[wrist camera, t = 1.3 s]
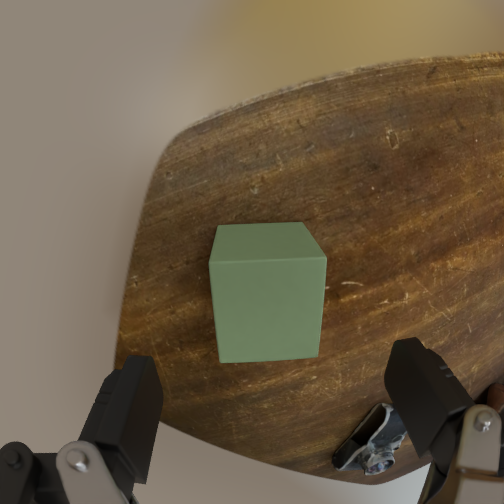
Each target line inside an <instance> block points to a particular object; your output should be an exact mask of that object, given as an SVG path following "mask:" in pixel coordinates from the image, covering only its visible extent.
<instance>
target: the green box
mask: <svg viewBox="0 0 504 504" xmlns="http://www.w3.org/2000/svg"><path fill="white" fill-rule="evenodd" d="M208 264H209V275H210V285H211V295H212V304H213V313H214V322H215V330H216V339H217V347H218V355H219V361H220V363H240V362H262V361H278V360H291V359H303V358H314V357H317V356H318V350H319V341H320V333H321V323H322V313H323V303H324V292H325V279H326V266H327V257H326V255H325V254H324V253H323V251H322V250H321V248H320V247H319V245H318V244H317V242H316V241H315V239H314V238H313V237H312V235H311V234H310V232H309V231H308V229H307V228H306V227H305V225H304V224H303V222H286V223H258V224H234V225H218V227H217V231H216V235H215V239H214V243H213V247H212V251H211V255H210V259H209V263H208Z"/></svg>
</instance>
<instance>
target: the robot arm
mask: <svg viewBox="0 0 504 504" xmlns="http://www.w3.org/2000/svg"><path fill="white" fill-rule="evenodd" d="M384 383H385V387H386V390H387V392H388V394H389V396H390V398H391V400H392V402H393V404H394V406H395V408H396V410H397V412H398V414H399V416H400V418H401V420H402V422H403V424H404V426H405V428H406V430H407V433H408V435H409V437H410V439H411V441H412V443H413V445H414V447H415V450H416V452H417V454H418V456H419V458H423V457H425V456H428V455H431V454H432V457H433V461H432V462H431V465H430V468H429V472H428V474H427V477H426V481H425V484H424V487H423V489H422V492H421V495H420V498H419V501H418V503H417V504H504V413H501V414H498V413H497V412H496V410H494V409H493V408H491V407H490V406H487V405H482V404H480V405H476V404H475V403H474V401H473V400H472V398H471V397H470V396H469V394H468V393H467V391H466V390H465V389H464V387H463V386H462V385H461V383H460V382H459V380H458V379H457V378H456V376H454V375H453V372H452V371H451V370H450V368H448V366H447V364H446V363H445V362H444V360H443V359H442V358H441V356H439V355H438V354H436V353H435V352H433V351H432V350H430V349H426V348H425V347H424V346H423V344H422V343H421V342H420V340H419V339H418V338H416V337H412V338H407V339H401V340H396V341H395V342H394V344H393V347H392V350H391V354H390V357H389V361H388V364H387V367H386V371H385V375H384ZM162 406H163V390H162V386H161V383H160V380H159V376H158V373H157V370H156V366H155V363H154V360H153V358H152V357H151V356H138V355H129V356H128V357H127V359H126V361H125V364H124V366H123V368H122V370H118V369H115V370H114V371H113V372H112V373H111V374H110V375H108V376H107V377H106V378H105V380H104V382H103V384H102V386H101V388H100V391H99V393H98V395H97V397H96V399H95V403H94V404H93V406H92V409H91V411H90V413H89V415H88V418H87V420H86V423H85V425H84V427H83V430H82V432H81V435H80V437H79V439H78V440H77V441H73V442H70V443H68V444H66V445H65V446H63V447H62V448H61V449H60V451H59V452H58V453H33V452H32V451H31V450H30V449H29V448H28V447H27V446H26V445H25V444H24V443H21V442H10V443H8V444H6V445H4V446H3V447H2V448H1V449H0V504H139V502H138V501H137V499H136V498H135V496H134V494H133V493H132V491H133V486H134V482H135V483H141V484H146V480H147V475H148V470H149V466H150V461H151V456H152V451H153V446H154V442H155V437H156V432H157V428H158V424H159V419H160V415H161V411H162Z"/></svg>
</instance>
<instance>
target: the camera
mask: <svg viewBox="0 0 504 504" xmlns="http://www.w3.org/2000/svg"><path fill="white" fill-rule="evenodd" d="M406 434H407V430H406V428H405V426H404V424H403V422H402V420H401V418H400V416H399V414H398V412H397V410H396V408H395V406H394V404H385V403H379V404H377V405H375V406H374V407H373V409H372V410H371V411H370V412H369V414H368V415H367V416H366V417H365V419H364V420H363V421H362V422H361V423H360V425H359V426H358V427H357V428H356V430H355V431H354V433H353V434H352V435H351V436H350V437H349V438H348V439H347V440H346V442H345V443H344V444H342V446H341V447H340V448H339V449H338V450H337V451H336V452H335V454H334V455H333V457H332V465H333V466H334V468H335V469H336V470H337V471H345V470H362V469H364V474H365V475H375V474H378V473H381V472H383V471H385V470H387V469H388V468H390V467H391V466H392V465H393V464H394V463H395V460H394V458H393V452H394V451H395V450H397V449H398V448H399V447H400V445H401V441H402V440H403V438H404V436H405V435H406Z"/></svg>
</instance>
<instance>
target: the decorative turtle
mask: <svg viewBox="0 0 504 504" xmlns="http://www.w3.org/2000/svg"><path fill="white" fill-rule="evenodd" d="M487 406H490V407H491V408H493V409H494V410H496V412H497V413H498V414H501V413H504V385H502V384H499V383H494V384H492V385H490V387H489V390H488V398H487Z"/></svg>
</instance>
